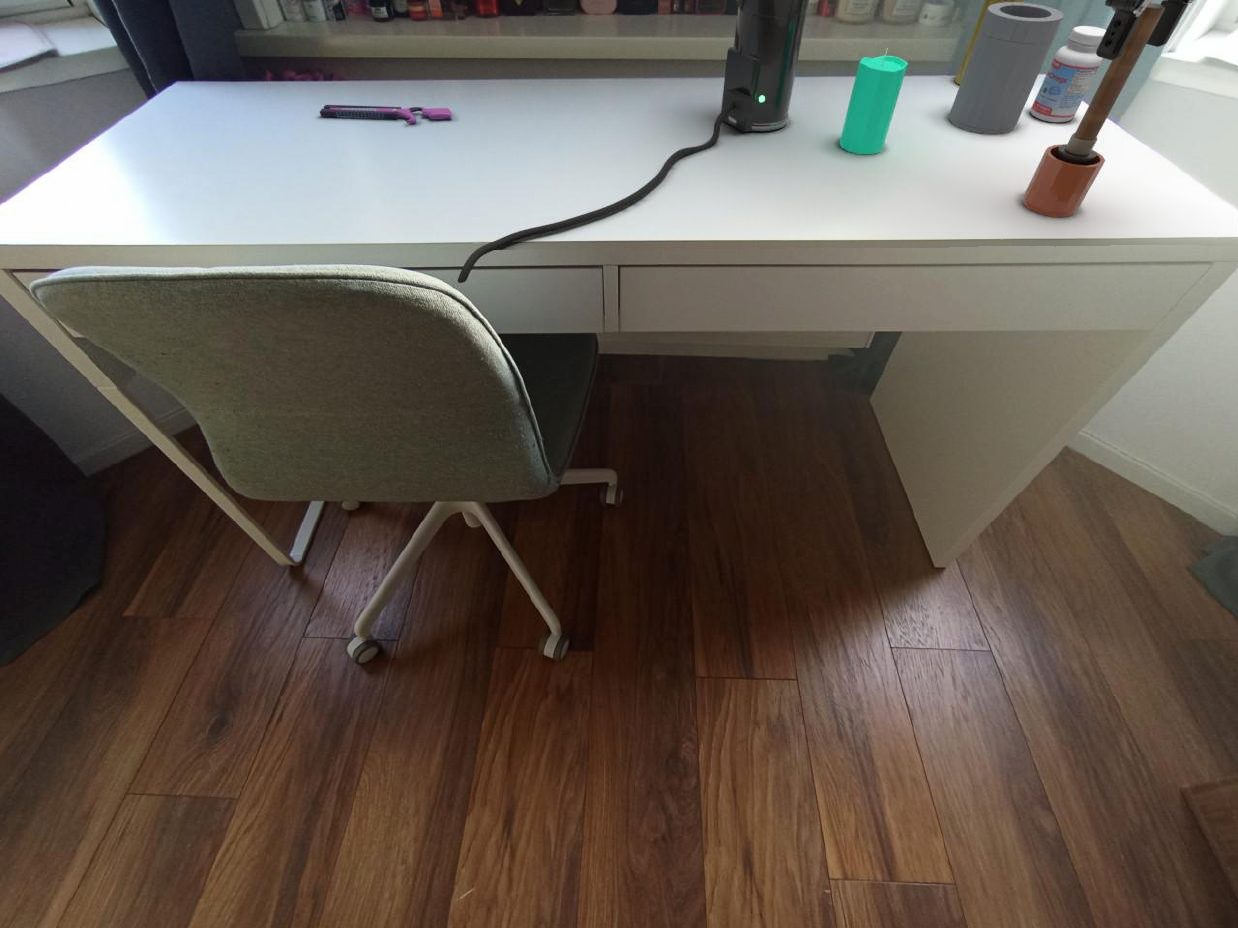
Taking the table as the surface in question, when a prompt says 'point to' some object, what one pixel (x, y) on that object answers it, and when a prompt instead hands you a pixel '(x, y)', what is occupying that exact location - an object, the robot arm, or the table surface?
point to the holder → (1060, 185)
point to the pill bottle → (1069, 76)
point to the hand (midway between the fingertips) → (1129, 51)
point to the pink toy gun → (383, 112)
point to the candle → (872, 103)
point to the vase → (988, 1)
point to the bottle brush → (1109, 91)
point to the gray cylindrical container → (1004, 66)
